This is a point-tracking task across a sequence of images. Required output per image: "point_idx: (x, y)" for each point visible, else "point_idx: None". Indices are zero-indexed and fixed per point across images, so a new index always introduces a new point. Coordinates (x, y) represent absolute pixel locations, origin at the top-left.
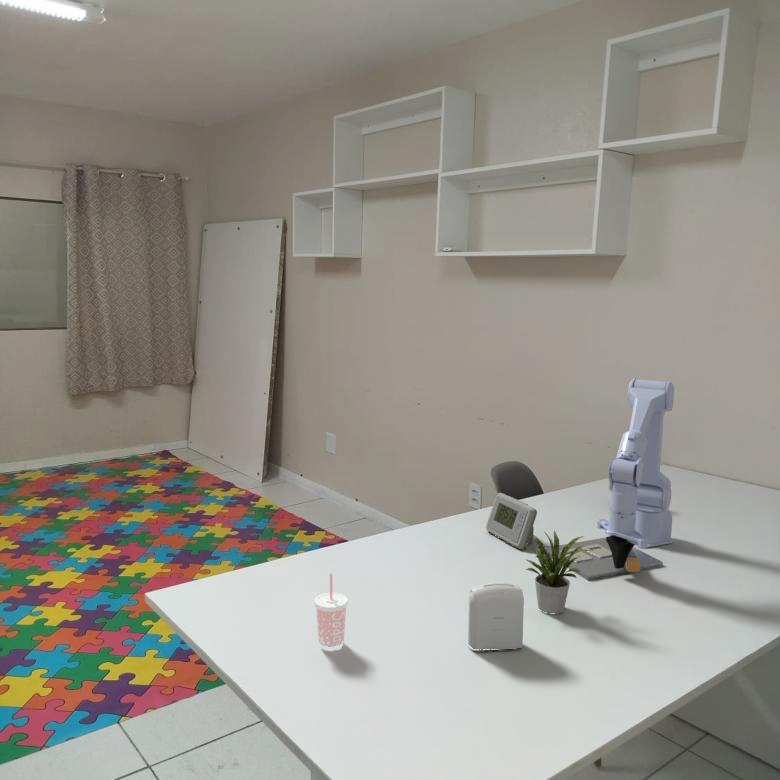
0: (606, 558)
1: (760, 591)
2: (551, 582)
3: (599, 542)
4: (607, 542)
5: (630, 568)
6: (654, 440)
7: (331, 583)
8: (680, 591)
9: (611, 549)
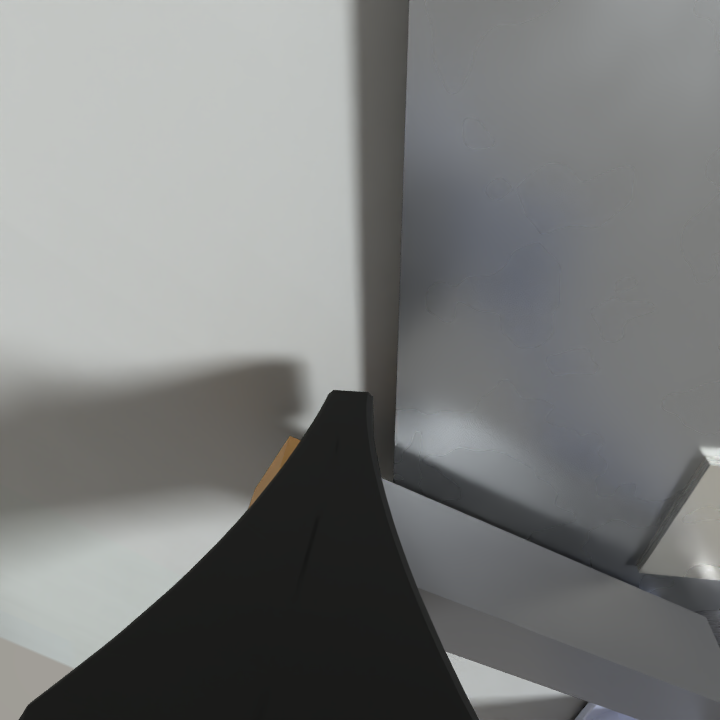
0: (651, 486)
1: (75, 654)
2: None
3: None
4: (455, 703)
5: (272, 471)
6: None
7: None
8: (69, 498)
9: (373, 573)
